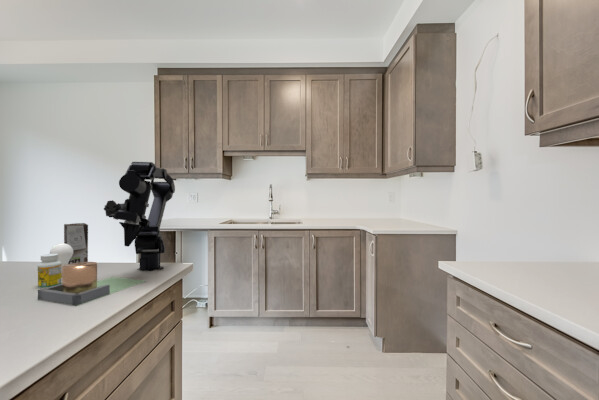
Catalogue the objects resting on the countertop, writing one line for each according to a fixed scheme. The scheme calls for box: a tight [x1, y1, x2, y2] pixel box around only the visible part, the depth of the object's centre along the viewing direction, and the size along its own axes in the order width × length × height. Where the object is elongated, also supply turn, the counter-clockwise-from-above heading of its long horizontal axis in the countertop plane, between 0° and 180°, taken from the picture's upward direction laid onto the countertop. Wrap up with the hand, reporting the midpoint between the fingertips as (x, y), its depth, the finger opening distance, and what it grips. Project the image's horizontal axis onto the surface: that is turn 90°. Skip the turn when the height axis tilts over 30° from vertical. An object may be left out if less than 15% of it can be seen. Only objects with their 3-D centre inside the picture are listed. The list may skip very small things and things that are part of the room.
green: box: [37, 276, 147, 307], centre depth 86 cm, size 22×14×1 cm, turn 163°
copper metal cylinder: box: [62, 261, 98, 294], centre depth 81 cm, size 8×8×8 cm
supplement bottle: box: [37, 253, 62, 289], centre depth 89 cm, size 5×5×10 cm
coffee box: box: [63, 222, 89, 264], centre depth 111 cm, size 9×6×16 cm
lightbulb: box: [49, 242, 73, 276], centre depth 100 cm, size 6×6×11 cm
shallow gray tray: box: [37, 284, 111, 307], centre depth 80 cm, size 9×13×2 cm
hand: (126, 246), depth 96 cm, fingers closed
